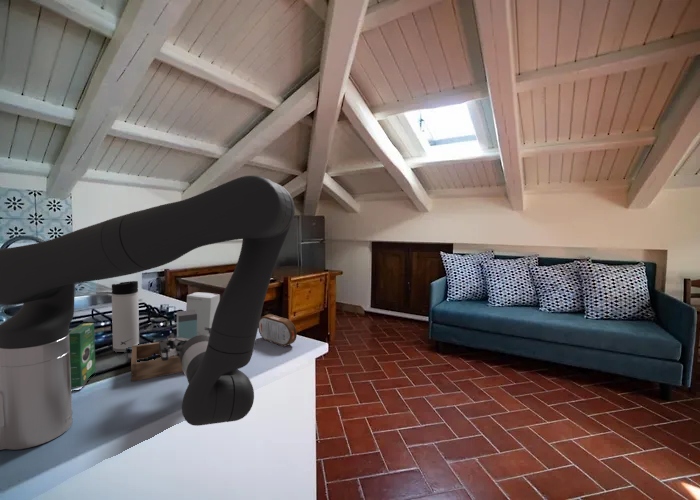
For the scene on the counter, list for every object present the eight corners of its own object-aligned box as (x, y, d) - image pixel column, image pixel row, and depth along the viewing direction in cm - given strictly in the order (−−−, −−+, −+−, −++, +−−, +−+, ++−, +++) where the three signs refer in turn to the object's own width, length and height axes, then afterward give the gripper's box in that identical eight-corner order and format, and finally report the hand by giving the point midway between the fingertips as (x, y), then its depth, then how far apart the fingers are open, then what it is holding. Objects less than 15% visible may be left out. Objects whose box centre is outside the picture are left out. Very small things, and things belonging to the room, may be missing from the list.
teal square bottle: (178, 360, 86) (178, 316, 84) (176, 354, 89) (176, 311, 88) (196, 357, 88) (196, 314, 87) (194, 351, 92) (194, 309, 90)
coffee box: (82, 375, 78) (80, 322, 77) (96, 373, 79) (95, 321, 78) (65, 392, 71) (63, 334, 70) (81, 390, 72) (80, 333, 71)
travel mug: (126, 354, 91) (125, 283, 89) (107, 351, 92) (105, 281, 90) (145, 346, 97) (144, 280, 95) (126, 343, 98) (125, 278, 96)
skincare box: (184, 342, 101) (184, 295, 100) (195, 335, 107) (195, 291, 106) (210, 344, 100) (210, 297, 99) (219, 337, 106) (220, 292, 105)
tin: (297, 346, 102) (297, 320, 101) (290, 349, 99) (290, 323, 98) (263, 335, 110) (263, 311, 109) (256, 338, 107) (256, 313, 106)
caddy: (131, 381, 76) (131, 365, 76) (132, 360, 87) (132, 345, 87) (208, 366, 86) (209, 351, 85) (201, 349, 97) (201, 335, 96)
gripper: (238, 336, 70) (222, 316, 83) (162, 348, 62) (157, 323, 75) (237, 370, 70) (221, 344, 84) (162, 385, 63) (157, 354, 76)
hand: (191, 334), depth 80 cm, fingers open, 8 cm apart
